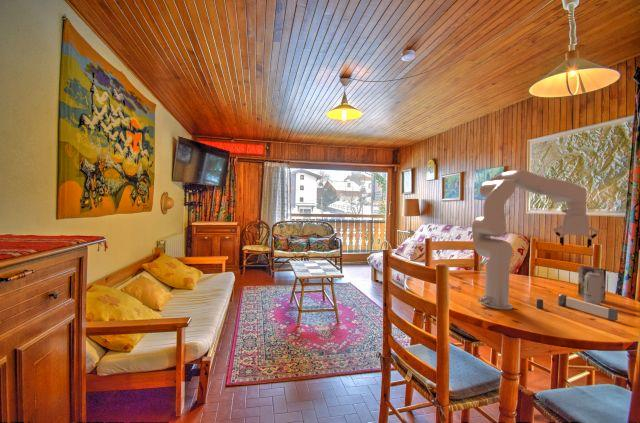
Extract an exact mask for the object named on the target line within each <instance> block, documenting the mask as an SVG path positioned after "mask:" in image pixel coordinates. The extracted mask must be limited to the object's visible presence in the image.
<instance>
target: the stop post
mask: <svg viewBox="0 0 640 423" xmlns="http://www.w3.org/2000/svg"><path fill="white" fill-rule="evenodd" d="M536 309H538V310H543V309H544V299H543V298H542V299H541V298H536Z"/></svg>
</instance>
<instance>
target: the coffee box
mask: <svg viewBox="0 0 640 423" xmlns="http://www.w3.org/2000/svg"><path fill="white" fill-rule="evenodd" d="M588 272H589V273H597V274H600V276H601V278H602V286H601V302H606V283H607V281H606V280H607V279H606V278H607V269H603V268H599V267H595V266H578V285H577V286H578V289H577V290H578V293H577V294H578V296H577V297H580V298H583V299H584V287H585V275H586V274H587V273H588Z"/></svg>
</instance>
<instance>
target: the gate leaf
mask: <svg viewBox="0 0 640 423" xmlns="http://www.w3.org/2000/svg"><path fill="white" fill-rule="evenodd" d="M566 307H569V308H573V309H575V310H578V311H581V312H582V311H583V312H585V313H589V314H592V315H595V316H597V317H598V316H599V317H601V318H606V319H608V320H612V321H618V318H619V313H618V312H619V309H617V308H613V307H605V306H602V305H600V304H599V305H595V304H591V303H587V302H585V301H584V300H583V301H582V300H580V299H577V298H572V297H567V298H566Z"/></svg>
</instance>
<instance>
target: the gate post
mask: <svg viewBox="0 0 640 423" xmlns="http://www.w3.org/2000/svg"><path fill="white" fill-rule="evenodd" d="M566 298H567V295H566V294H562V293H559V294H558V300H557V303H558V304H557V305H558V306H560V307H567V306H566Z"/></svg>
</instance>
